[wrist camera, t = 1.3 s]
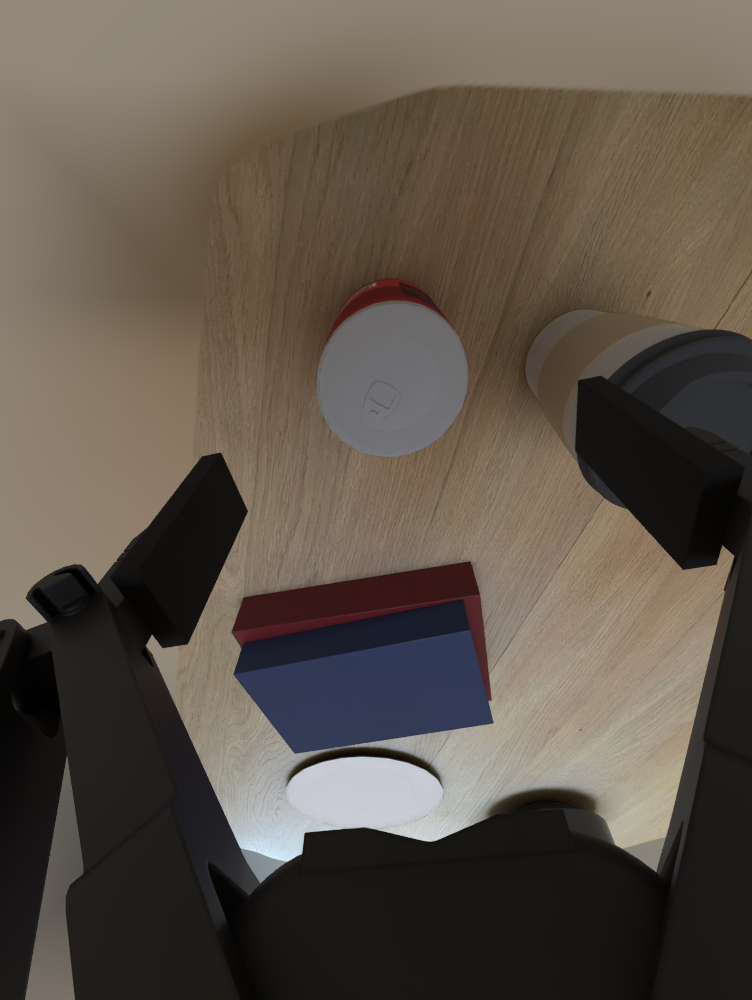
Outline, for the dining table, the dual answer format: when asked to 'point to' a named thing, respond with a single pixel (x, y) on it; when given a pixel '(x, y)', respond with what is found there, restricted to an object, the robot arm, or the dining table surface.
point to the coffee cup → (644, 374)
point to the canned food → (391, 371)
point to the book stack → (367, 658)
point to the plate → (364, 792)
